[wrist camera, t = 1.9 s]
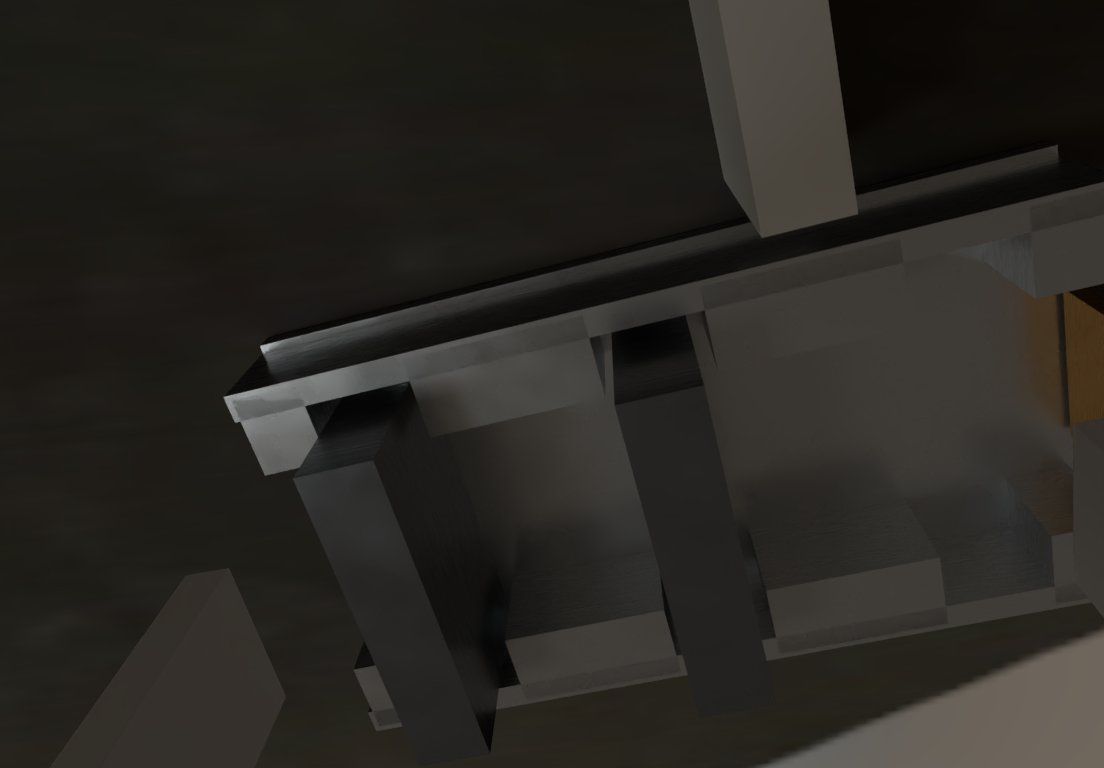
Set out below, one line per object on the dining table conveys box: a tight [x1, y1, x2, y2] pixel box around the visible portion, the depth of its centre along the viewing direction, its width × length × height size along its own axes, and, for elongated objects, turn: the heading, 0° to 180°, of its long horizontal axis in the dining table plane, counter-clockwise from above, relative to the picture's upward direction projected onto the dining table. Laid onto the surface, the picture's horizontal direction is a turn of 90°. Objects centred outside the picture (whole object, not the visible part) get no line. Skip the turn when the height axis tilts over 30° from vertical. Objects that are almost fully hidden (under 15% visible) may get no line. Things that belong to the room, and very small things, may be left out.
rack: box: [224, 141, 1104, 766], centre depth 32 cm, size 29×16×9 cm, turn 105°
